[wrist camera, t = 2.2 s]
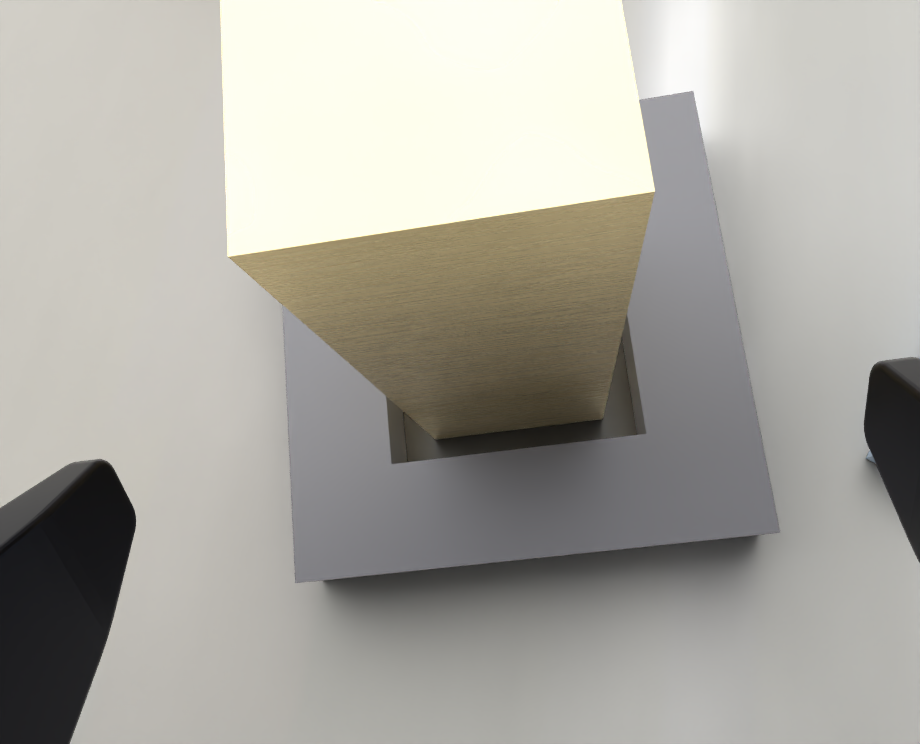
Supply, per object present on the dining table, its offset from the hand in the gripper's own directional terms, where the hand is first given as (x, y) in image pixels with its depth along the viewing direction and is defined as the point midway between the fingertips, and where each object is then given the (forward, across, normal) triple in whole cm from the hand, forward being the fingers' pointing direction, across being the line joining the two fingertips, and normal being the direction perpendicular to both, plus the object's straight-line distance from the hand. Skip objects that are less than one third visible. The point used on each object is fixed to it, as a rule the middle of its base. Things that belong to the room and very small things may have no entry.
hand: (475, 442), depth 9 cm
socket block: (+11, 0, +5) cm, 12 cm away
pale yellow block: (+11, 0, +5) cm, 12 cm away
